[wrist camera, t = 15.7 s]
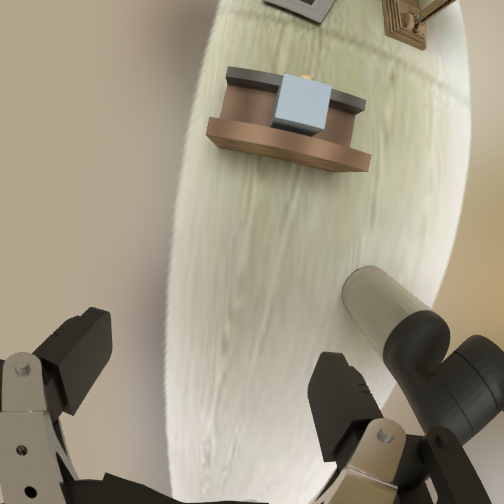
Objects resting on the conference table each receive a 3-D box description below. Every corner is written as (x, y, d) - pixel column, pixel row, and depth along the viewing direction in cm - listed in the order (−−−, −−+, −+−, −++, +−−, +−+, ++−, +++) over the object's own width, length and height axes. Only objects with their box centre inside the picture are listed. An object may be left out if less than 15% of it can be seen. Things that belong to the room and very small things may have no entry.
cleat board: (345, 112, 38) (380, 91, 26) (334, 172, 41) (368, 171, 28) (231, 86, 37) (225, 52, 25) (218, 147, 40) (205, 134, 27)
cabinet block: (312, 101, 33) (333, 78, 24) (304, 141, 35) (324, 129, 25) (276, 92, 33) (285, 65, 23) (267, 132, 35) (275, 117, 25)
